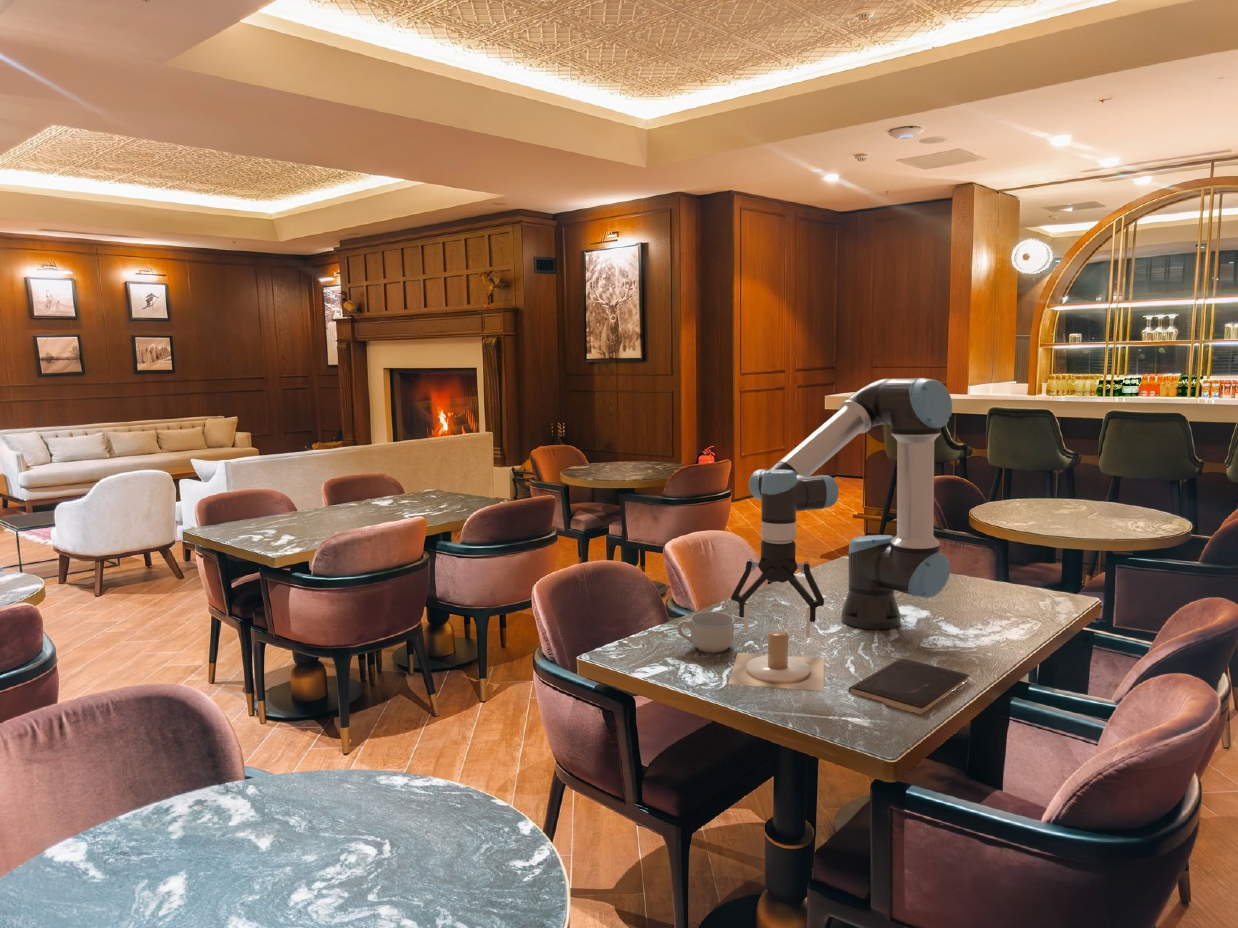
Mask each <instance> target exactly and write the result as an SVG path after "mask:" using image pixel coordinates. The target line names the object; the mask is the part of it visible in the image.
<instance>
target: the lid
mask: <svg viewBox="0 0 1238 928" xmlns="http://www.w3.org/2000/svg"><path fill="white" fill-rule="evenodd" d="M767 655H768V656H760V657H756V658H753V659H751V660H749V661H748V662H747V664H746V670H747V672H748V674H749V675H751V676H752V677H754V678H757V679H760V680H764V681H769V682H779V683H786V682H795V681H800V680H803V679H805V678H807V677H808V676H809V674H810V667H809V665H808V664H807V663H806V662H804V661H802V660H799V659H797V658H793V657H788V656H789V634H788V632H787V631H782V630H772V631H769V632H767Z"/></svg>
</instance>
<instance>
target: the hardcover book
mask: <svg viewBox="0 0 1238 928" xmlns="http://www.w3.org/2000/svg"><path fill="white" fill-rule="evenodd" d="M970 676H971V675H970V674H969V673H964V672H961V671H960V672H959V671H956V670H952V669H948V668H943V667H939V666H937V665H931V664H928V663H923V662H920V661H915V660H911V659H907V658H903V657H900V658H899V659H897V660H895V661H893V662H891V663H889V664H887V665H886V666H885V667H882V668H881V669H879V670H877V671H875V672H874V673H872V674H870V675H869V676H867V677H866V678H864V679H862V680H860V681H858V682H857V683H855V684H853V685H851V686H849V687H848V693H851V694H855V695H857V696H862V697H865V698H868V699H872V700H876V701H879V702H881V703H884V705H887V706H889V707H893V708H896V709H900V710H902V711H903V710H904V711H907V712H910V713H913V712H915V713H914V714H917V713H918V714H917V715H920V714H921V715H923V714H924V713H925V711H926V710H927V711H928V710H930V709H931V708H932V706H933V705H934V704H935V705H937V704H936V702H938V703H940V702H941V701H942V700H941V699H943V697H944V696H946V695H947V694H949V693H950V692H951V691H952V690H954V689H955V688H956V687H958V686H960V685H961V684H962V682H965V681H966V680H967V679H968V678H969V677H970ZM967 681H968V680H967ZM940 700H941V701H940ZM943 700H944V699H943ZM939 701H940V702H939ZM935 705H934V706H935ZM934 706H933V707H934ZM930 707H931V708H930ZM929 708H930V709H929ZM927 711H926V712H927ZM923 712H924V713H923ZM922 713H923V714H922Z"/></svg>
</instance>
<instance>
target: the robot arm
mask: <svg viewBox="0 0 1238 928" xmlns="http://www.w3.org/2000/svg"><path fill="white" fill-rule="evenodd" d="M952 413H953V401H952V397H951V393H950V392H949V390H948V389H947V387H945V385H944V384H943V383H942V382H940V381H939V380H936V379H932V378H925V377H919V378H917V377H915V378H912V377H911V378H883V379H878V380H876V381H873V382H870V383H869V384H867V385H865V386H863V387H862V388H860V389H859V390H856V392H854V393H853V394H851V395H850V396H849V397H847V398H846V399H845V400H844V401H842V403H841V404H839V408H838V411H836V413H834V414H833V415H832V416H831V417H830V418H829V419H828V420H827V421H825V422H824V423H822V425H820V426H819V427H818V428H817V429H816V430H814V431H813V432H812V433H811V434H810V435H809V436H808V437H806V438H805V439H804V440H802V441H801V442H800V443H799V444H798V445H797V446H796V447H794V448H793V449H792V450H790V452H789V453H787V454H786V455H785V456H783V457H782V458H781V459H780V460H779V461H778V462H776V463H775V464H774V465H773V466H772V467H770V468H769V469H768V468H763V469H756V470H755V471H754V472H753V473H751V475H750V478H749V480H748V488H749V492H750V494H751V495H752V497H753V498H754V499H758V500H759V501H760V502H761V503H760V504H761V509H760V510H761V511H760V512H761V518H760V519H761V521H760V538H761V539H762V540H761V541H760V560H759V561H758V560H753V559H751V558H748V559H747V561H746V563H745V565H746V566H745V570H744V571H743V574H742V576H741V578H740V580H739V581H738V583H737V585H736V586H735V588H734V591H733V592H732V594H731V596H730V599H731V601H733V602H734V601H735V602H737V603H738V605H739V606H738V610H739V611H738V614H739V615H738V616H739V618H743V634H748V633H749V632H748V631H749V617H750V616H749V612H750V611H749V603H750V602H749V601H748V599H749V598H750V597H751V596H752V595H754V594H755V592H756V591H757V590H758V589H759V587H761V585H762V584H764V583H765V582H766V581H769V583H777V582H779V583H784V584H785V583H786V582H788V583H789V584H790V585H791V586H793V588H794V589H795V591H797V593H798V594H799V595H800V596H801V598H802V599H803V600H804V601H805V603H806V604H807V605H806V617H805V618H806V621H805V622H806V626H805V628H806V629H805V630H806V631H805V637H806V638H810V637H811V623H815V622H816V612H817V608H818V607H823V606H824V605H825V599H824V596H823V594H822V593H821V590H820V588H819V587H818V584H817V582H816V581H815V578H814V577H813V574H812V572H811V566H810V562H809V561H805V562H803V563H802V562H799V563H797V562H796V546H797V545H796V542H795V541H794V540H795V539H796V536H797V535H796V534H797V533H796V531H797V512H803V511H810V510H811V511H812V510H823V509H826V508H831V507H832V506H835V504H836V503H837V501H838V499H839V493H840V492H839V486H838V484H837V481H836V479H834V478H833V477H832V476H830V475H828V474H827V475H826V474H825V475H824V474H823V475H822V474H817V475H813V474H814V473H816V471H817V470H819V468H821V467H822V466H823V465H824V464H825V463H826V462H828V461H829V460H830V459H831V458H832V457H834V456H835V455H836V454H837V453H838V452H839V451H840V450H842V449H843V447H845V446H846V445H847V444H849V442H851V441H852V440H853V439H854V438H855V437H856V436H857V435H859V434H865V433H867V432H869V431H870V430H871V429H872V428H873V427H877V426H881V425H887V426H889V425H890V435H891V436H892V437H893V438H894V439H895V440H896V443H897V444H896V448H897V449H896V450H897V451H896V452H897V454H896V462H897V463H896V467H897V469H896V474H897V475H896V507H897V508H896V535H895V536H893V535H888V534H887V535H886V534H885V535H884V534H877V535H876V534H875V535H874V534H873V535H872V534H871V535H864V536H863V535H861V536H857V537H854V538H852V539H851V540H850V542H849V547H848V548H849V549H848V592H847V595H846V598H845V600H844V603H843V607H842V609H841V616H840V617H841V621H842V622H843V623H844V624H845V625H847V626H851V627H854V628H858V629H863V630H865V629H866V630H875V631H876V630H890V629H894V628H896V627H897V628H898V627H899V626H900V625H901V612H900V609H899V605H898V603H897V600H896V597H895V591H896V592H899V593H904V594H906V595H910V596H912V597H919V598H924V599H930V598H933V597H935V596H937V595H938V594H940V593H941V592H942V591H943V589H944V587H945V586H946V584H947V583H948V582H949V581H948V580H949V578H950V575H951V574H950V573H951V562H950V560H949V558H948V557H947V556H946V555H945V554H944V553H942V552H941V542H940V541H939V540H938V539H937V538H936V537H935V536H934V519H935V517H934V516H935V515H934V512H935V511H934V508H935V504H934V503H935V441H936V439H937V438H938V437H939V436H941V434H942V428H943V427H945V426H946V425H947V424H948V423H949V421H950V419H949V418H951V417H952ZM756 568H759V570H760V572H761V574H760V575H759V576H758V577H757V579H756V580H754V582H753V583H752V584H751V585H750V586H749V587H748V589H746V590H745V592H744V593H743V594H742V595H740V594H741V591H742V589H743V588H744V585H745V584H746V582H747V580H748V578H749V576H750V574H751V572H752V571H753V572H754V571H755V570H756ZM797 570H799V571H800V573H801V574H804V577H805V579H806V582H807V583H808V585H809V588H810V589H811V592H812V593H813V595H814V598H815V599H814V598H813V597H812V596H811V594H810V593H809V592H808V591H807V589H806V588H805V587H804V586H803V585H802V584H801V582H800V581H799V580H798V578H797V577H796V575H795V573H796V571H797Z"/></svg>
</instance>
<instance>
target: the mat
mask: <svg viewBox="0 0 1238 928" xmlns="http://www.w3.org/2000/svg"><path fill="white" fill-rule="evenodd" d="M760 656H768V654H766V653H764V654H763V653H749V652H737V654H736V657H735V661H734V664H733V666H732V669H731V670H732V671H731V674H730V677H729V680H728V684H727V685H733V686H747V687H758V688H771V689H783V690H784V689H785V690H786V689H787V690H796V691H811V692H812V691H813V692H824V677H825V676H824V674H825V672H824V670H825V669H824V668H825V666H824V664H825V659H824V657H809V656H794V655H788V657H793V658H797V659H799V660H802V661H804V662H806V663H807V664H808V665H809V667H810V674H809V676H808V677H807V678H805V679H803V680H800V681H795V682H786V683H779V682H769V681H764V680H760V679H757V678H754V677H752V676H751V675H749V674H748V672H747V670H746V664H747V662H748V661H749V660H751V659H753V658H756V657H760Z"/></svg>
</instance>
